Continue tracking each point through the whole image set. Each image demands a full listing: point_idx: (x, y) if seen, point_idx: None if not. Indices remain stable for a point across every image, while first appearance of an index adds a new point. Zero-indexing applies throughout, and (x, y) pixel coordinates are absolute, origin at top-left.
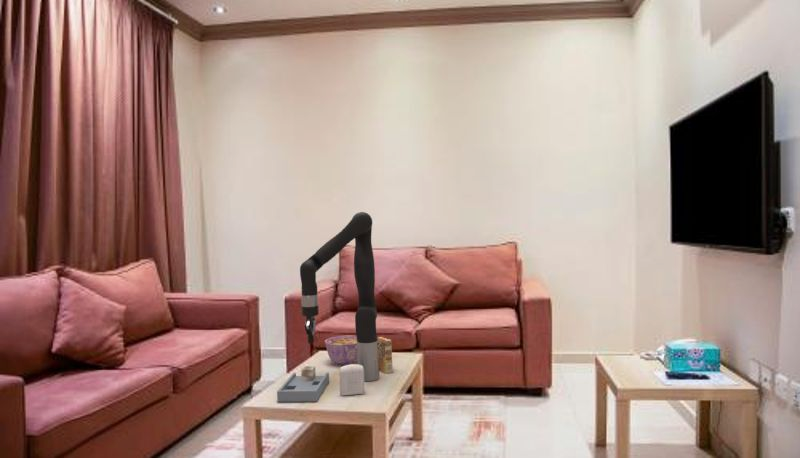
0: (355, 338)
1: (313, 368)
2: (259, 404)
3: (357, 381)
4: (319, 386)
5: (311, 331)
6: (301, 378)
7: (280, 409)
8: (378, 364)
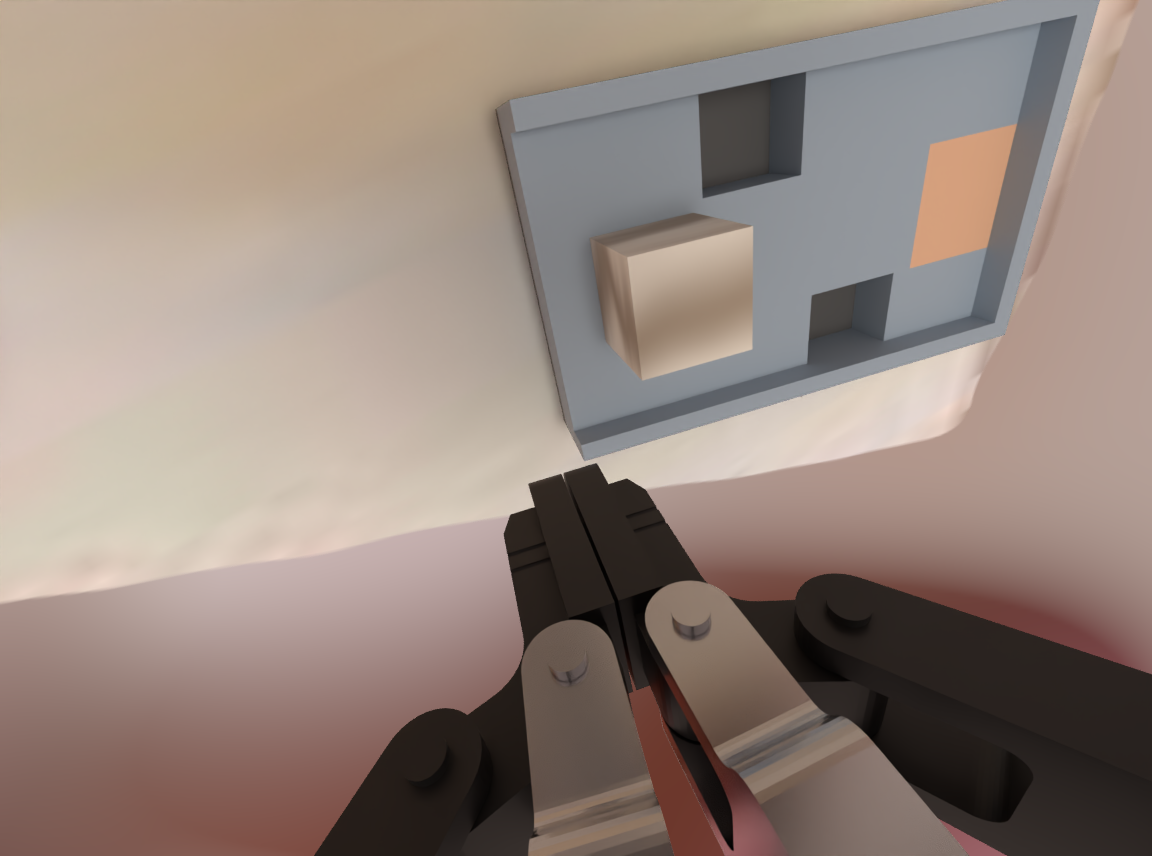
0: None
1: (709, 236)
2: (943, 394)
3: None
4: (974, 7)
5: (1013, 646)
6: None
7: (1053, 232)
8: None
